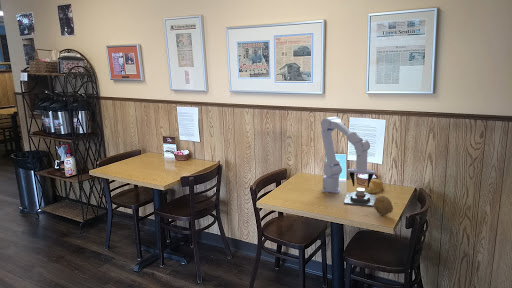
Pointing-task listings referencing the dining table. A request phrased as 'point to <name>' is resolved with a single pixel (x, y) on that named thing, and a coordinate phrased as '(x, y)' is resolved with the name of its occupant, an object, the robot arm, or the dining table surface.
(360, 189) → the column
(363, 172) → the robot arm
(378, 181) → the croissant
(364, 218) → the dining table surface
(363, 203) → the stand base
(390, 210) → the natural sponge
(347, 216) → the dining table surface
